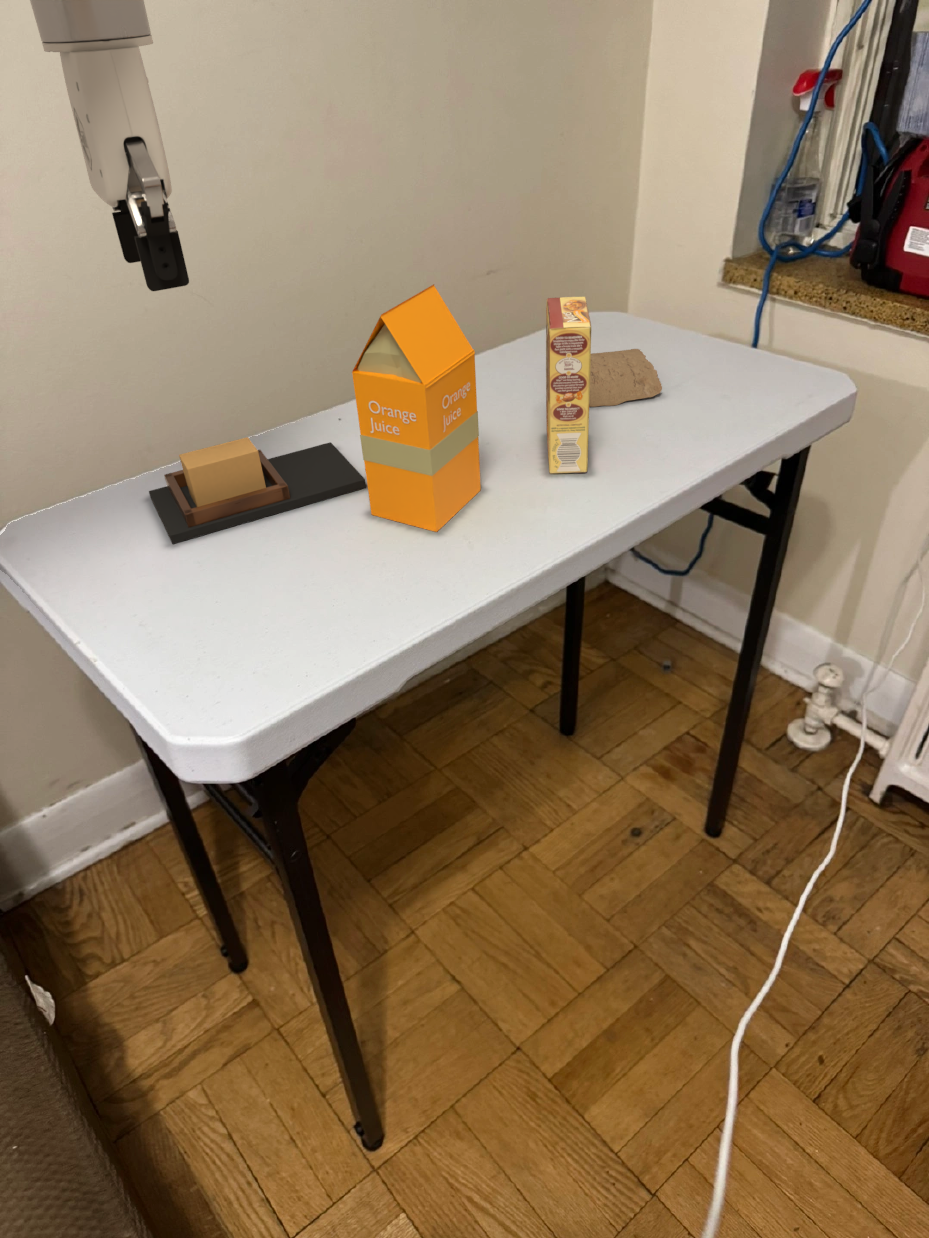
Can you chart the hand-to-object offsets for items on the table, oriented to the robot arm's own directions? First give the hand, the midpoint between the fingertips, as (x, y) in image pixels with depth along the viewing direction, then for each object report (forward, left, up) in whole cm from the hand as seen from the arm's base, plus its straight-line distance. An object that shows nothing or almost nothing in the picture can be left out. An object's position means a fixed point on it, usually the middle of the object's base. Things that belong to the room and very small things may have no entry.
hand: (156, 273), depth 72 cm
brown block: (+2, +2, -22) cm, 23 cm away
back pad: (+5, +2, -23) cm, 24 cm away
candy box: (+36, -8, -24) cm, 43 cm away
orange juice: (+19, -9, -24) cm, 31 cm away
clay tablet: (+51, +6, -24) cm, 56 cm away
